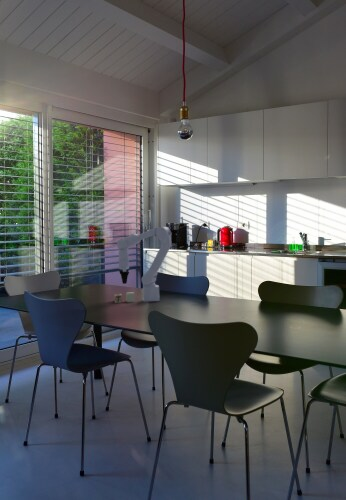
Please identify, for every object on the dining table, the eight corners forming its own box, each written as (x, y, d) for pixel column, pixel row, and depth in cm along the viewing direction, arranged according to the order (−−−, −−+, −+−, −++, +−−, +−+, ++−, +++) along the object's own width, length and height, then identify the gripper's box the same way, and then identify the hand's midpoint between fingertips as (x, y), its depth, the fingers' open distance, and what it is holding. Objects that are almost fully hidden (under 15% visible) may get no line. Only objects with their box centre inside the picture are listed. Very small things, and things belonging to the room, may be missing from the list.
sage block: (132, 300, 301) (132, 292, 300) (134, 301, 297) (134, 293, 297) (126, 301, 299) (125, 292, 299) (128, 302, 296) (128, 293, 295)
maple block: (121, 302, 295) (121, 300, 301) (121, 295, 294) (121, 293, 301) (114, 302, 294) (114, 300, 301) (114, 295, 294) (114, 293, 301)
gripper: (116, 258, 310) (117, 281, 311) (117, 260, 295) (117, 284, 296) (128, 258, 311) (129, 281, 312) (129, 260, 296) (130, 284, 297)
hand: (124, 282), depth 304 cm, fingers open, 7 cm apart
